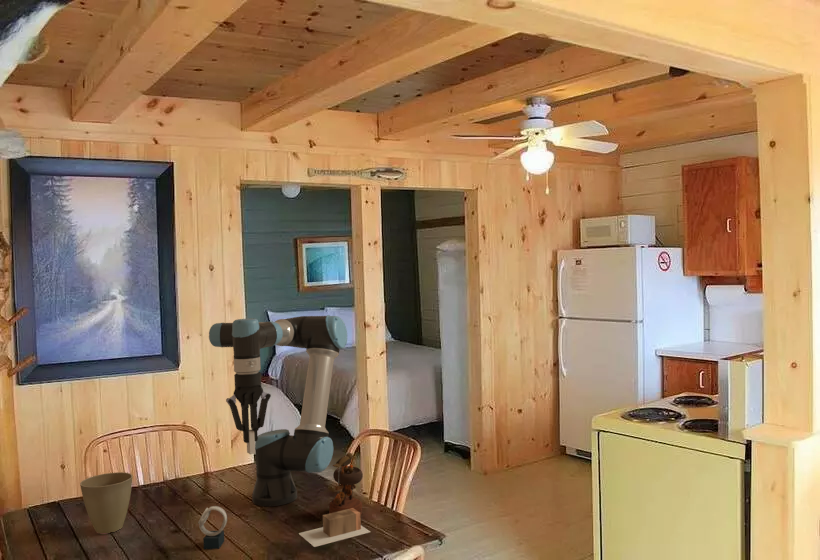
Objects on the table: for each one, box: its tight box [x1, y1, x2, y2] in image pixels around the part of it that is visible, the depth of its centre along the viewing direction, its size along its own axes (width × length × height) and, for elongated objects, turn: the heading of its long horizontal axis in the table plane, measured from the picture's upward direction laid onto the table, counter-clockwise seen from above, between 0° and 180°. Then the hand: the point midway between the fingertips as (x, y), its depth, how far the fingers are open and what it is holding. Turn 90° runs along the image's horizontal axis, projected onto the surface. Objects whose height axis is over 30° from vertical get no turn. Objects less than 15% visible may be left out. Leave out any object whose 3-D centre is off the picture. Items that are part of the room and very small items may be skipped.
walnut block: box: [322, 508, 362, 537], centre depth 203 cm, size 5×5×10 cm
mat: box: [298, 524, 371, 548], centre depth 202 cm, size 12×18×1 cm, turn 121°
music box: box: [328, 452, 364, 517], centre depth 217 cm, size 15×11×20 cm
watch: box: [198, 505, 228, 550], centre depth 197 cm, size 6×8×11 cm
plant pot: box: [79, 471, 133, 533], centre depth 212 cm, size 15×15×16 cm
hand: (251, 452), depth 198 cm, fingers closed
